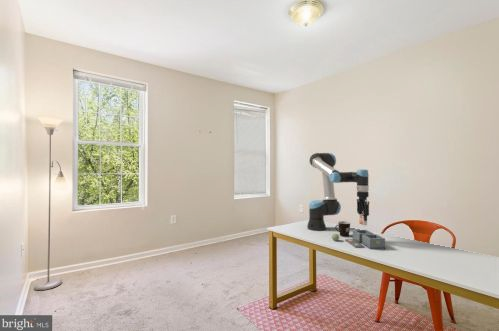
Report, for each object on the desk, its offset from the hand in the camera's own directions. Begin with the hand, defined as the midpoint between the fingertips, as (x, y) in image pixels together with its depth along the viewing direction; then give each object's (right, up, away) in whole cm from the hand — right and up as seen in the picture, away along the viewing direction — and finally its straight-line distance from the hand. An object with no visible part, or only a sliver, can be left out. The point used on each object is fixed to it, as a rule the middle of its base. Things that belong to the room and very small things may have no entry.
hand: (362, 224), depth 178 cm
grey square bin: (0, -12, 0) cm, 12 cm away
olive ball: (-19, -12, +1) cm, 23 cm away
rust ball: (0, 0, 0) cm, 0 cm away
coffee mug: (-10, -12, +14) cm, 21 cm away
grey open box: (+2, -12, -12) cm, 17 cm away
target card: (-9, -12, -6) cm, 16 cm away
